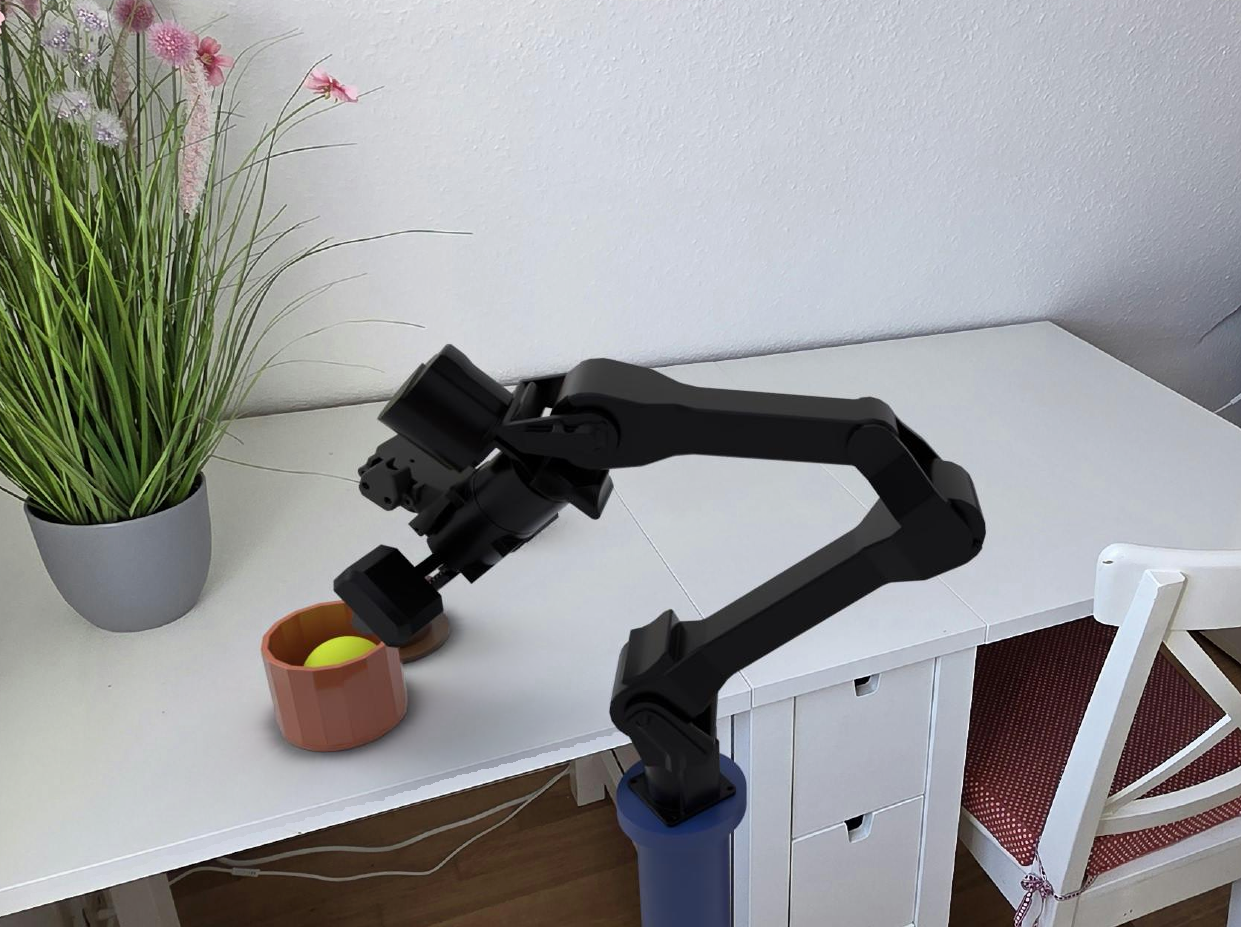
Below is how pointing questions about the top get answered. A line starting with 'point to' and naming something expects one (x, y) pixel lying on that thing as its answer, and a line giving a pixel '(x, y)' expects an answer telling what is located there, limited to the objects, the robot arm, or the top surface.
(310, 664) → the tennis ball
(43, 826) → the top surface
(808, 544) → the top surface
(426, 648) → the ball stand
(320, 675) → the terracotta pot
